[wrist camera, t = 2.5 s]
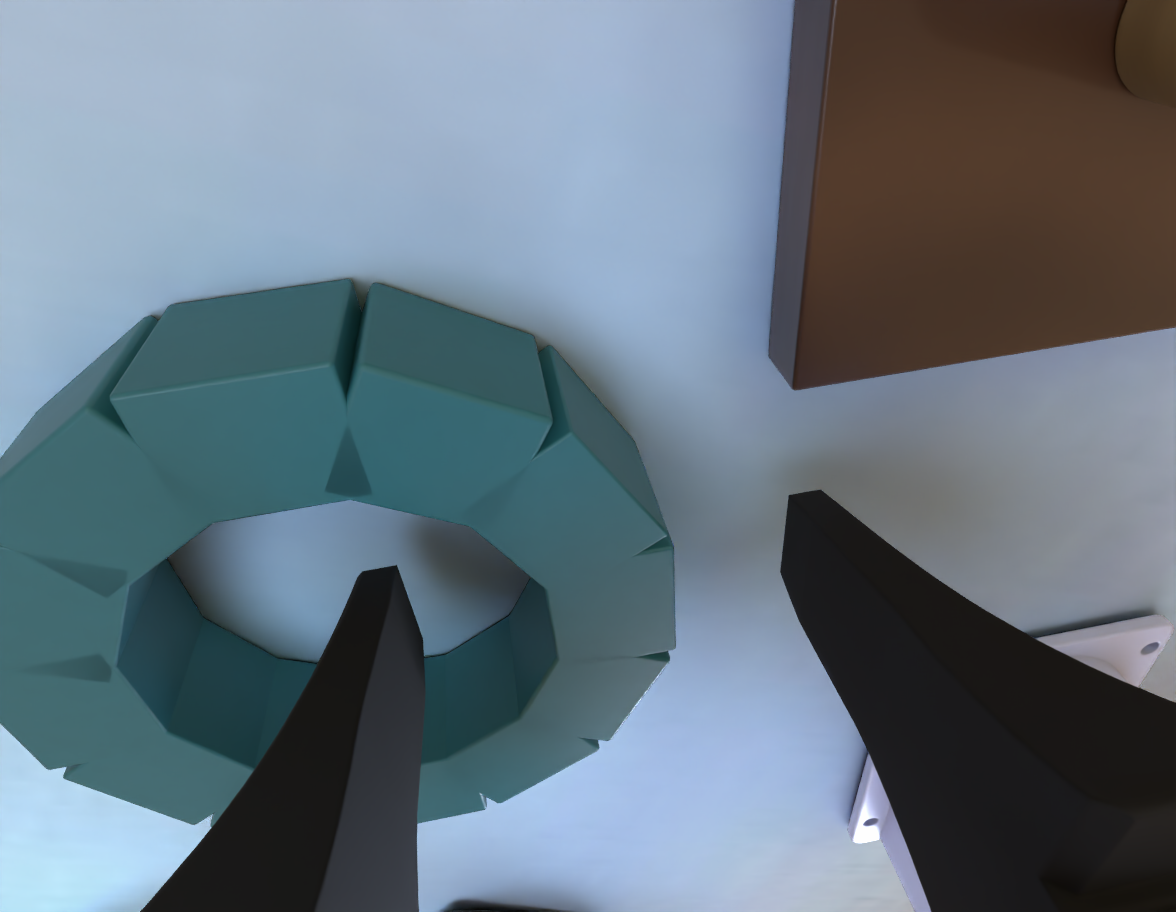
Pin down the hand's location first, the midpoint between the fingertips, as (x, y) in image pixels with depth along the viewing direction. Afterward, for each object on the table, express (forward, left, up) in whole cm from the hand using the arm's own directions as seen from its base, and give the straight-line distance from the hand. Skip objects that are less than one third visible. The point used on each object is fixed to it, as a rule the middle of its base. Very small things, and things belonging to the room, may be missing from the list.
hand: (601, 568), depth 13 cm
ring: (0, +4, -2) cm, 5 cm away
